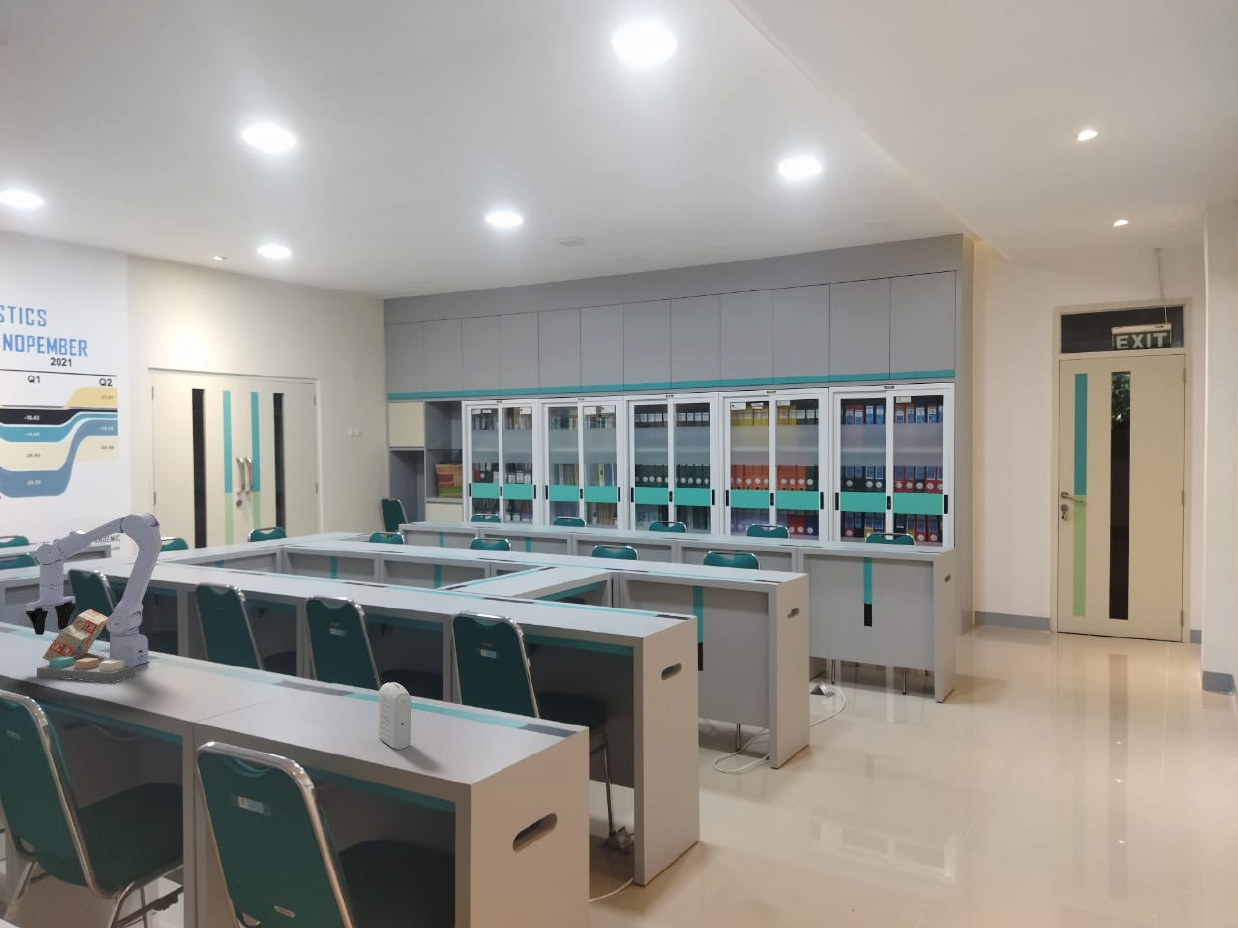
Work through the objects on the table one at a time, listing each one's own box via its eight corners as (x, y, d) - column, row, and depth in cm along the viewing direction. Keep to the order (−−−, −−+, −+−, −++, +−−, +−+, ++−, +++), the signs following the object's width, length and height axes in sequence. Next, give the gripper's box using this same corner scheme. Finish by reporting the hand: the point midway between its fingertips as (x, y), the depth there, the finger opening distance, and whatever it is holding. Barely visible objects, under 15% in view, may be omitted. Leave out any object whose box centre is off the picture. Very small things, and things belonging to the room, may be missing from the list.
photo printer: (413, 747, 175) (414, 687, 175) (393, 751, 172) (394, 690, 172) (395, 734, 183) (396, 677, 183) (376, 737, 180) (376, 680, 181)
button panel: (135, 675, 232) (135, 666, 232) (113, 682, 225) (113, 672, 225) (61, 670, 237) (61, 661, 237) (36, 677, 229) (36, 668, 229)
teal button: (73, 669, 234) (74, 657, 234) (61, 673, 230) (62, 660, 230) (61, 668, 235) (61, 656, 235) (49, 672, 231) (49, 659, 231)
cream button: (123, 672, 231) (124, 659, 231) (112, 676, 227) (112, 663, 227) (111, 671, 232) (111, 659, 232) (99, 675, 228) (99, 662, 228)
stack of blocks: (63, 668, 240) (88, 630, 241) (41, 658, 238) (66, 620, 240) (87, 652, 260) (110, 617, 262) (67, 643, 259) (90, 607, 260)
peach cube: (98, 671, 232) (98, 658, 232) (87, 674, 228) (87, 661, 228) (86, 670, 233) (86, 657, 233) (74, 673, 229) (74, 660, 229)
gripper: (61, 581, 251) (61, 626, 251) (17, 587, 237) (17, 636, 236) (81, 581, 249) (81, 627, 249) (38, 588, 235) (38, 637, 235)
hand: (51, 631), depth 243 cm, fingers open, 7 cm apart
